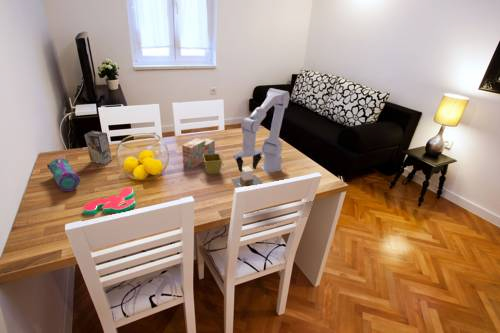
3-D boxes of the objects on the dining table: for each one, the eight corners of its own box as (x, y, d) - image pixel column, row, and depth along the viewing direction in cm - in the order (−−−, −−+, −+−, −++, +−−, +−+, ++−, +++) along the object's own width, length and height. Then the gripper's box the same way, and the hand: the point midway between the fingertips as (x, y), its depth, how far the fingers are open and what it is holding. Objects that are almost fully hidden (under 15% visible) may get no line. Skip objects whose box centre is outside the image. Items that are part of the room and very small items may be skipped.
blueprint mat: (254, 175, 149) (254, 174, 148) (267, 188, 138) (267, 187, 138) (230, 180, 143) (230, 179, 143) (242, 194, 132) (242, 193, 132)
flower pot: (205, 177, 144) (204, 161, 140) (202, 169, 151) (202, 154, 147) (221, 175, 146) (222, 160, 142) (218, 167, 154) (219, 153, 149)
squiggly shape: (132, 190, 130) (132, 186, 129) (137, 210, 117) (137, 205, 116) (84, 199, 121) (82, 195, 120) (83, 222, 109) (82, 217, 108)
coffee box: (112, 159, 154) (107, 132, 147) (104, 164, 149) (99, 137, 141) (98, 157, 156) (92, 130, 148) (90, 162, 150) (83, 134, 143)
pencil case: (50, 176, 136) (44, 158, 131) (70, 171, 141) (66, 154, 137) (61, 195, 123) (55, 176, 118) (83, 188, 128) (78, 170, 124)
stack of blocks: (206, 151, 171) (206, 133, 165) (214, 154, 168) (215, 135, 163) (183, 165, 154) (181, 144, 148) (191, 168, 152) (191, 147, 146)
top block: (248, 175, 140) (248, 166, 137) (252, 179, 136) (253, 170, 134) (240, 176, 138) (240, 167, 135) (244, 180, 134) (244, 171, 132)
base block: (248, 181, 141) (248, 175, 140) (253, 186, 138) (253, 179, 136) (239, 183, 139) (239, 176, 137) (243, 188, 135) (244, 181, 134)
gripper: (258, 138, 134) (256, 163, 140) (231, 142, 128) (230, 168, 134) (265, 144, 129) (263, 169, 135) (237, 148, 122) (236, 175, 129)
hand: (247, 169), depth 134 cm, fingers open, 7 cm apart
